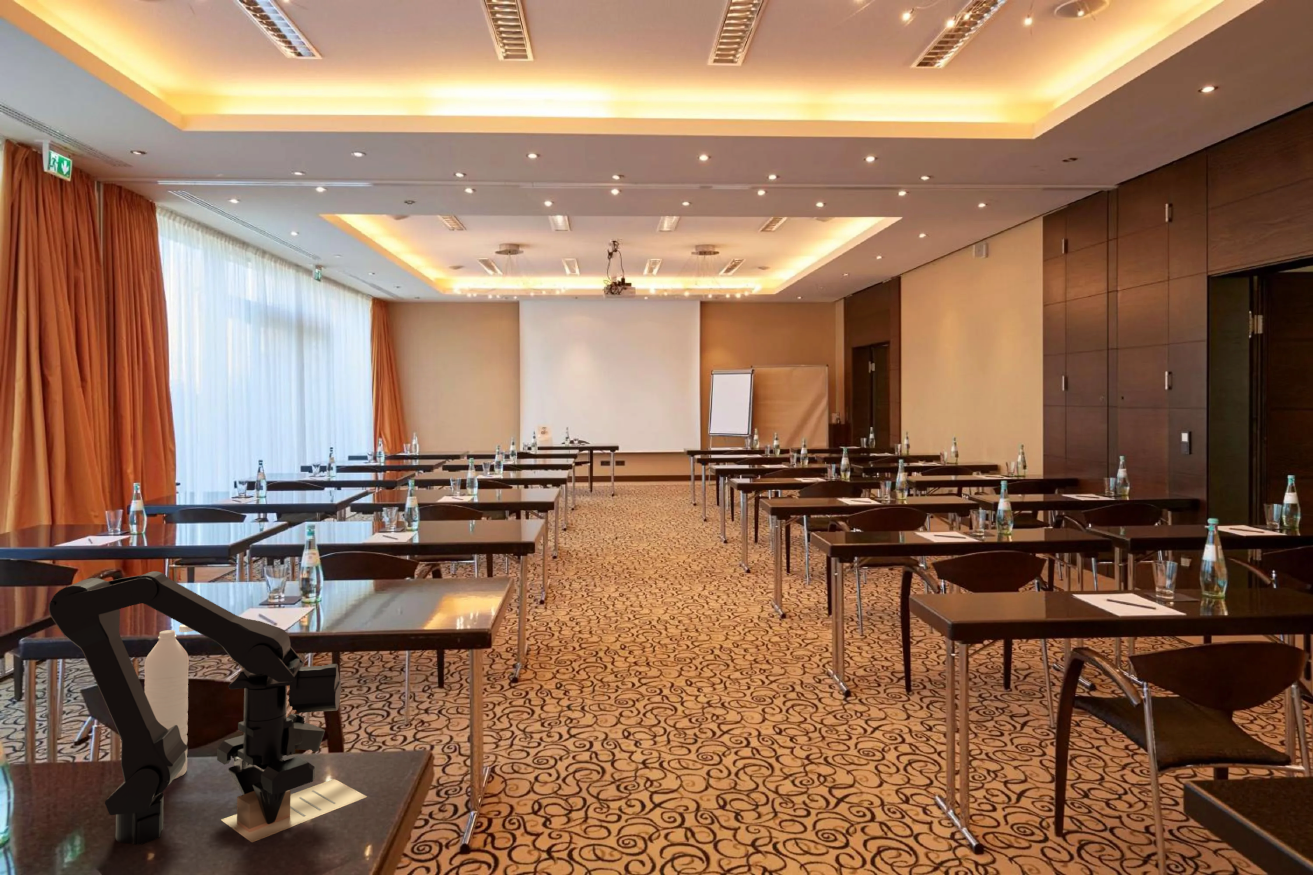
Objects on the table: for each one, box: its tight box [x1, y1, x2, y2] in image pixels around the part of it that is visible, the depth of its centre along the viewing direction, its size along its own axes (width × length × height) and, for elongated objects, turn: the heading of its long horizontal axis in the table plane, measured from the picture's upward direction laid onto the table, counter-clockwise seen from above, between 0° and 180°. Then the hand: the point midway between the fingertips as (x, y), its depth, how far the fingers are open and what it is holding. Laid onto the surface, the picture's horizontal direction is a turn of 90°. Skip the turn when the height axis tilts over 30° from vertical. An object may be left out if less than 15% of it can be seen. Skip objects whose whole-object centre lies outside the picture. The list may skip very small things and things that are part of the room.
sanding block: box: [236, 789, 292, 832], centre depth 116 cm, size 4×6×4 cm, turn 142°
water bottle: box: [143, 624, 194, 780], centre depth 135 cm, size 9×6×25 cm
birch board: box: [220, 778, 368, 843], centre depth 120 cm, size 10×18×2 cm, turn 142°
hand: (263, 818), depth 116 cm, fingers closed on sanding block, 4 cm apart
